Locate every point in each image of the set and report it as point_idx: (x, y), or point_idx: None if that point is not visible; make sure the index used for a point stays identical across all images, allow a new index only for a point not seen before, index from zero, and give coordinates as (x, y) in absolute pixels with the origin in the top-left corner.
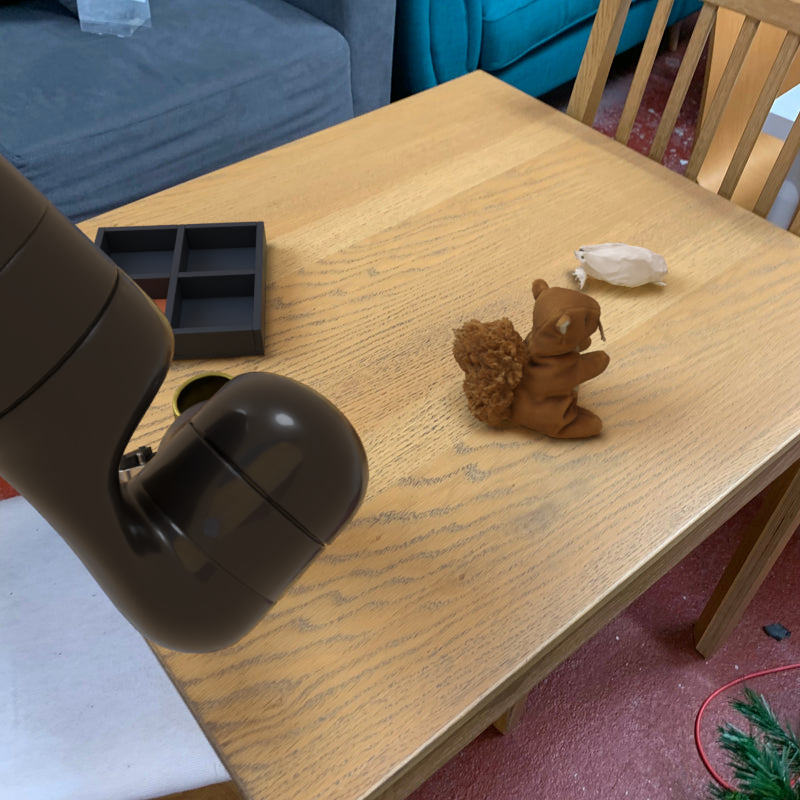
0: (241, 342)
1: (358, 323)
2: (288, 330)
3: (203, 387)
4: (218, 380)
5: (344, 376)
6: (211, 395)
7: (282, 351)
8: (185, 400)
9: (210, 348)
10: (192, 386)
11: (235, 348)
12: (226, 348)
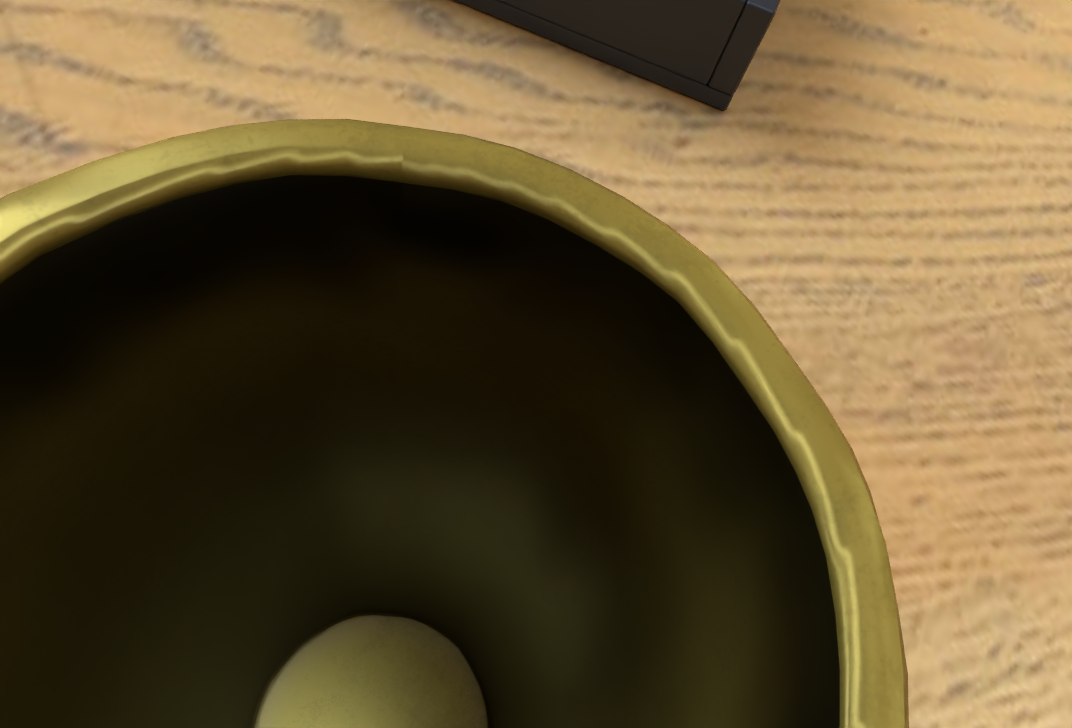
0: (679, 32)
1: (1048, 141)
2: (825, 63)
3: (394, 276)
4: (581, 286)
5: (961, 312)
6: (449, 355)
7: (784, 124)
8: (134, 344)
9: (569, 6)
10: (266, 227)
11: (648, 44)
12: (620, 30)
